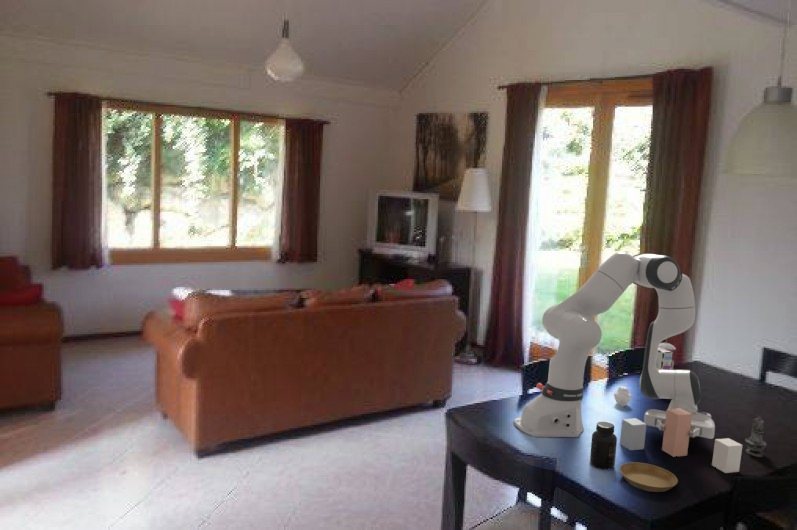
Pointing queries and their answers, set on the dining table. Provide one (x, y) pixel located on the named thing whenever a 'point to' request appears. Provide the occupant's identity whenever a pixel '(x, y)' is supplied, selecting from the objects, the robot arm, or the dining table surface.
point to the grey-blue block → (633, 434)
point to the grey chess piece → (756, 439)
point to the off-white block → (727, 455)
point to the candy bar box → (664, 359)
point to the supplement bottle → (603, 446)
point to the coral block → (676, 432)
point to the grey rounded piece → (622, 396)
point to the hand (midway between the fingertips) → (676, 431)
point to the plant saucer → (648, 477)
